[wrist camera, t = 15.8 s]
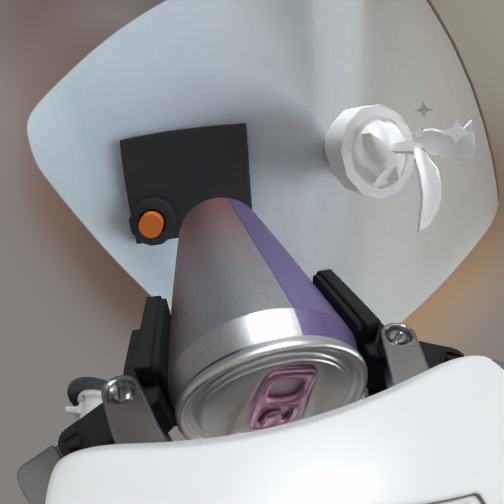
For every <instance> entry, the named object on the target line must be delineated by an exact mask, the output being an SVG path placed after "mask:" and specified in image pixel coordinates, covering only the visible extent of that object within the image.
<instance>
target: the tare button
mask: <svg viewBox="0 0 504 504" xmlns="http://www.w3.org/2000/svg"><path fill="white" fill-rule="evenodd" d="M163 225H164V220H163V217H162V215H161V214H160V213H158V212H156V211H148V212H146V213H145V214H144V215H143V216H142V218H141V219H140V221H139V230H140V232H141V234H142V235H144V236H145V237H148V238H154V237H157V236H158V235H159V234H160V233H161V231H162V228H163Z"/></svg>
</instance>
